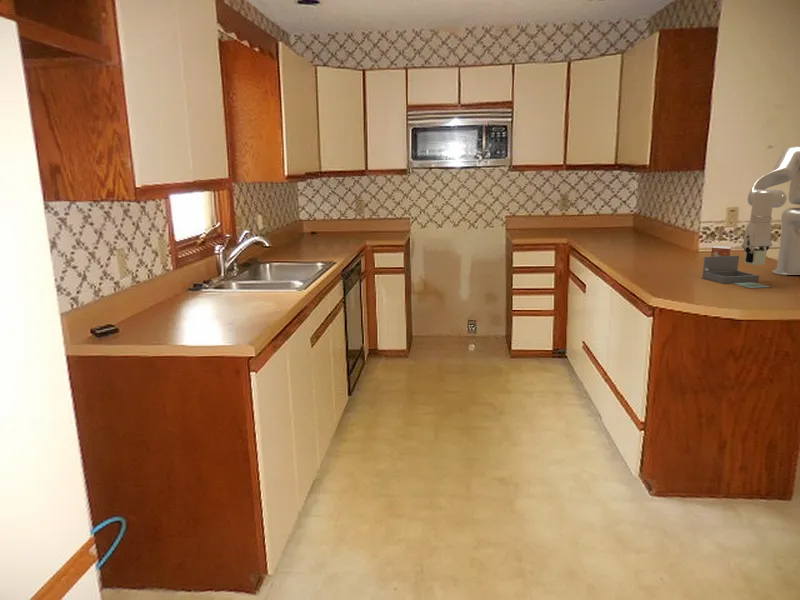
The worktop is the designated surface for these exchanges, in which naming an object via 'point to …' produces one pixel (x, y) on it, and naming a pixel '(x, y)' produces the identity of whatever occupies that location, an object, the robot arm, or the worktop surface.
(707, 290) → the worktop surface
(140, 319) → the worktop surface
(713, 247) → the small box
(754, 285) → the mat
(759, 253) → the block
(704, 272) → the grey open box
